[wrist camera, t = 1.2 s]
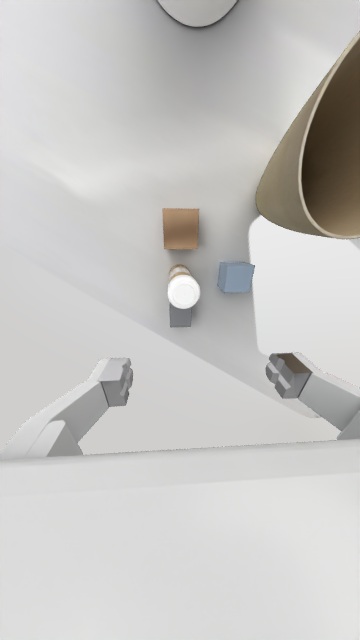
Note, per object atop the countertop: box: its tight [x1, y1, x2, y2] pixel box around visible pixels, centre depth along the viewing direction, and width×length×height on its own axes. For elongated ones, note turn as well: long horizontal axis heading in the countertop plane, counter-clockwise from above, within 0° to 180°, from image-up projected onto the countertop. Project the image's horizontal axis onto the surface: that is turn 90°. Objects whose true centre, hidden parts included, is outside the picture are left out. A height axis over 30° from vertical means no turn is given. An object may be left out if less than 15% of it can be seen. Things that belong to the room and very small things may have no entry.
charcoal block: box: [170, 303, 191, 327], centre depth 34 cm, size 4×4×4 cm
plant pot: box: [256, 31, 360, 239], centre depth 20 cm, size 15×15×16 cm
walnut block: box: [163, 209, 199, 249], centre depth 27 cm, size 6×6×6 cm
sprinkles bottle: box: [167, 265, 200, 309], centre depth 27 cm, size 5×5×14 cm
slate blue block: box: [218, 262, 255, 293], centre depth 31 cm, size 5×5×5 cm
